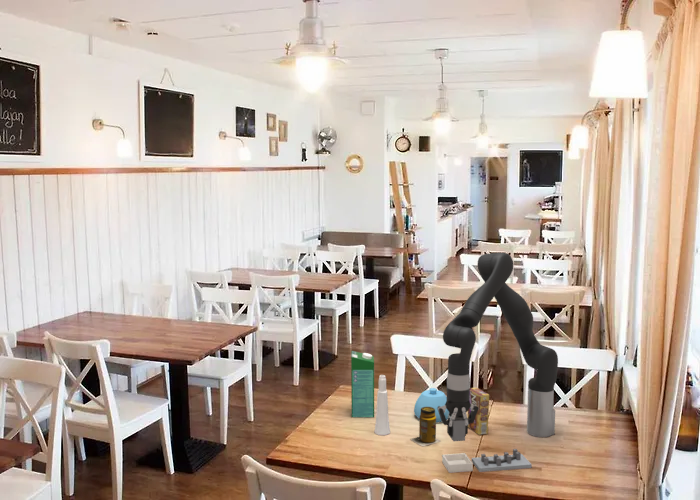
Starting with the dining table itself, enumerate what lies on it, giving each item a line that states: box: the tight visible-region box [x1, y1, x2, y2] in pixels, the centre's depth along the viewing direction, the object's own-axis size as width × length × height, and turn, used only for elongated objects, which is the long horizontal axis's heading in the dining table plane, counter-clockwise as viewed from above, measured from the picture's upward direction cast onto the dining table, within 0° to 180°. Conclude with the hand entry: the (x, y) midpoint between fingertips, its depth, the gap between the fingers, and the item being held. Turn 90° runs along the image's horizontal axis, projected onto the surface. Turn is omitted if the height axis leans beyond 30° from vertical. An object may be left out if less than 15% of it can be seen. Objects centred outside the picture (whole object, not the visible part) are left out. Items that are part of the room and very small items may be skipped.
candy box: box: [467, 387, 490, 436], centre depth 252 cm, size 9×4×15 cm, turn 20°
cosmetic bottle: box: [374, 374, 391, 436], centre depth 251 cm, size 6×6×22 cm
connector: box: [449, 416, 466, 442], centre depth 222 cm, size 4×4×8 cm
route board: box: [471, 448, 532, 473], centre depth 224 cm, size 18×8×4 cm, turn 99°
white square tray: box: [441, 452, 474, 474], centre depth 223 cm, size 8×8×3 cm
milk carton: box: [350, 350, 375, 418], centre depth 269 cm, size 9×9×25 cm
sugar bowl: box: [413, 387, 449, 424], centre depth 266 cm, size 15×15×12 cm
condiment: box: [410, 407, 441, 447], centre depth 243 cm, size 7×8×12 cm
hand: (457, 435), depth 222 cm, fingers closed on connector, 4 cm apart
